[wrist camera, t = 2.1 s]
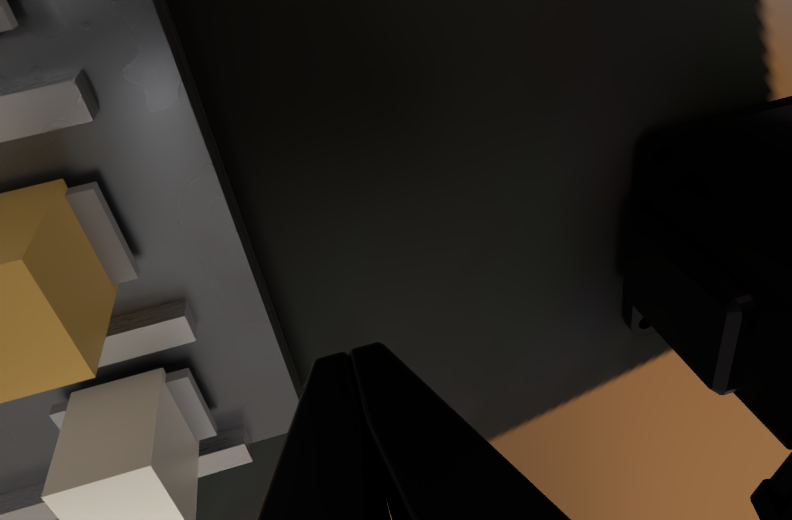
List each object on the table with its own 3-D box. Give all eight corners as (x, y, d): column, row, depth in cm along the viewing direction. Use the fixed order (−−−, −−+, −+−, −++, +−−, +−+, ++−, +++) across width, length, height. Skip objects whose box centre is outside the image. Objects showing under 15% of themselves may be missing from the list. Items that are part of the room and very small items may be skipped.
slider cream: (185, 361, 14) (177, 457, 11) (220, 431, 15) (218, 529, 13) (48, 399, 13) (13, 505, 11) (96, 466, 15) (73, 573, 12)
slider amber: (91, 171, 11) (57, 250, 9) (143, 277, 12) (126, 369, 10) (-83, 213, 11) (-164, 305, 8) (-10, 317, 12) (-63, 420, 10)
